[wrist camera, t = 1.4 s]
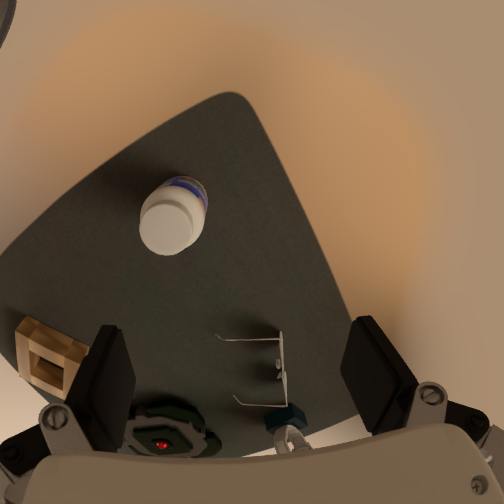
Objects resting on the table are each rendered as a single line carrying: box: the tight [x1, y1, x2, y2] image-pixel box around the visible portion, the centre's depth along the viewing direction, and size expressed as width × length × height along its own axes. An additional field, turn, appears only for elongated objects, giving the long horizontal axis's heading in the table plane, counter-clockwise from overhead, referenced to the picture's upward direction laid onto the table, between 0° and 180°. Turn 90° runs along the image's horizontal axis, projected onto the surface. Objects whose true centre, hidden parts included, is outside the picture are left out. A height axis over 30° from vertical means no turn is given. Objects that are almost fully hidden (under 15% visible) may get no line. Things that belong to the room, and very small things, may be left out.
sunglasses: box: [215, 331, 288, 407], centre depth 38 cm, size 14×8×5 cm, turn 8°
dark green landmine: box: [124, 400, 222, 458], centre depth 42 cm, size 18×18×5 cm
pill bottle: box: [139, 176, 208, 255], centre depth 25 cm, size 5×5×10 cm
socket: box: [15, 315, 89, 400], centre depth 34 cm, size 11×11×4 cm
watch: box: [264, 403, 313, 454], centre depth 40 cm, size 6×8×11 cm
